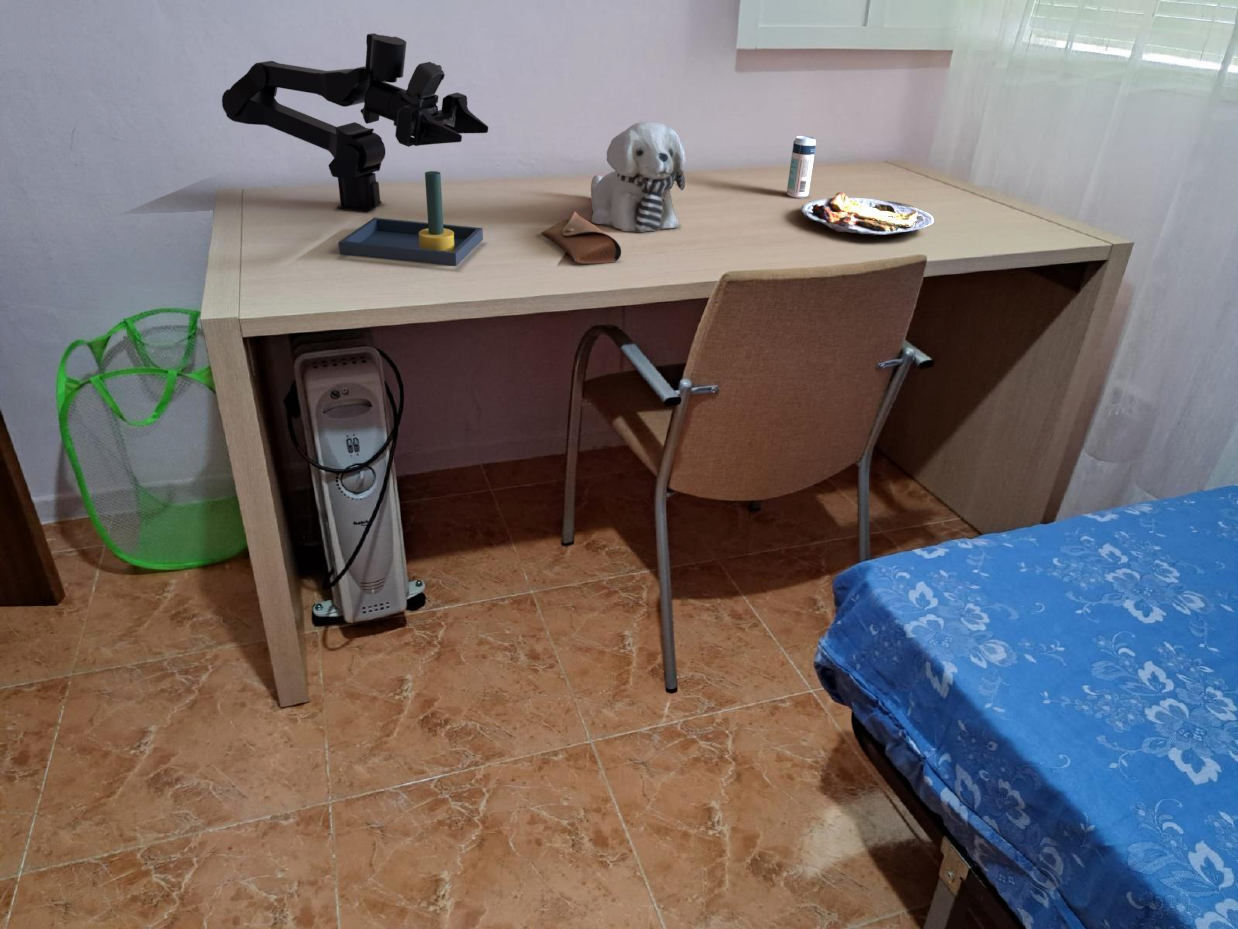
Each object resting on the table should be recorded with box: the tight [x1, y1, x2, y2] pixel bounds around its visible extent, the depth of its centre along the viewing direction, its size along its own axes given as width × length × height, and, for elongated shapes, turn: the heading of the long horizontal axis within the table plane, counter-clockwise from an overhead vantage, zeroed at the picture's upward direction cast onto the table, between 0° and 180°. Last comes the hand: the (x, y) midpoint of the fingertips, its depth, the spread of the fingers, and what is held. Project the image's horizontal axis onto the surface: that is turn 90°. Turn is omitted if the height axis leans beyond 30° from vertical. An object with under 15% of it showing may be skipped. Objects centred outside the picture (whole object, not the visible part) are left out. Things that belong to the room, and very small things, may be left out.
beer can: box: [786, 135, 817, 199], centre depth 192 cm, size 5×5×12 cm
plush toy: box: [590, 121, 687, 233], centre depth 170 cm, size 18×25×18 cm
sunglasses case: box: [540, 211, 622, 265], centre depth 156 cm, size 18×7×7 cm
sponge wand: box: [419, 170, 455, 252], centre depth 145 cm, size 6×6×13 cm
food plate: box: [800, 192, 934, 236], centre depth 177 cm, size 25×23×4 cm
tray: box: [338, 217, 484, 267], centre depth 151 cm, size 20×15×3 cm
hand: (474, 134), depth 156 cm, fingers open, 9 cm apart
